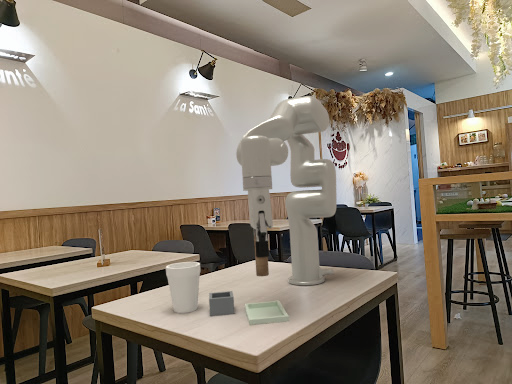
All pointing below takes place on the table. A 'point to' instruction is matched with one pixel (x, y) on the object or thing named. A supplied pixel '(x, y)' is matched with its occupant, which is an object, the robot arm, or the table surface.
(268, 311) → the tray
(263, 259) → the dowel
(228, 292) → the pen cup
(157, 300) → the table surface
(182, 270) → the foam cup
